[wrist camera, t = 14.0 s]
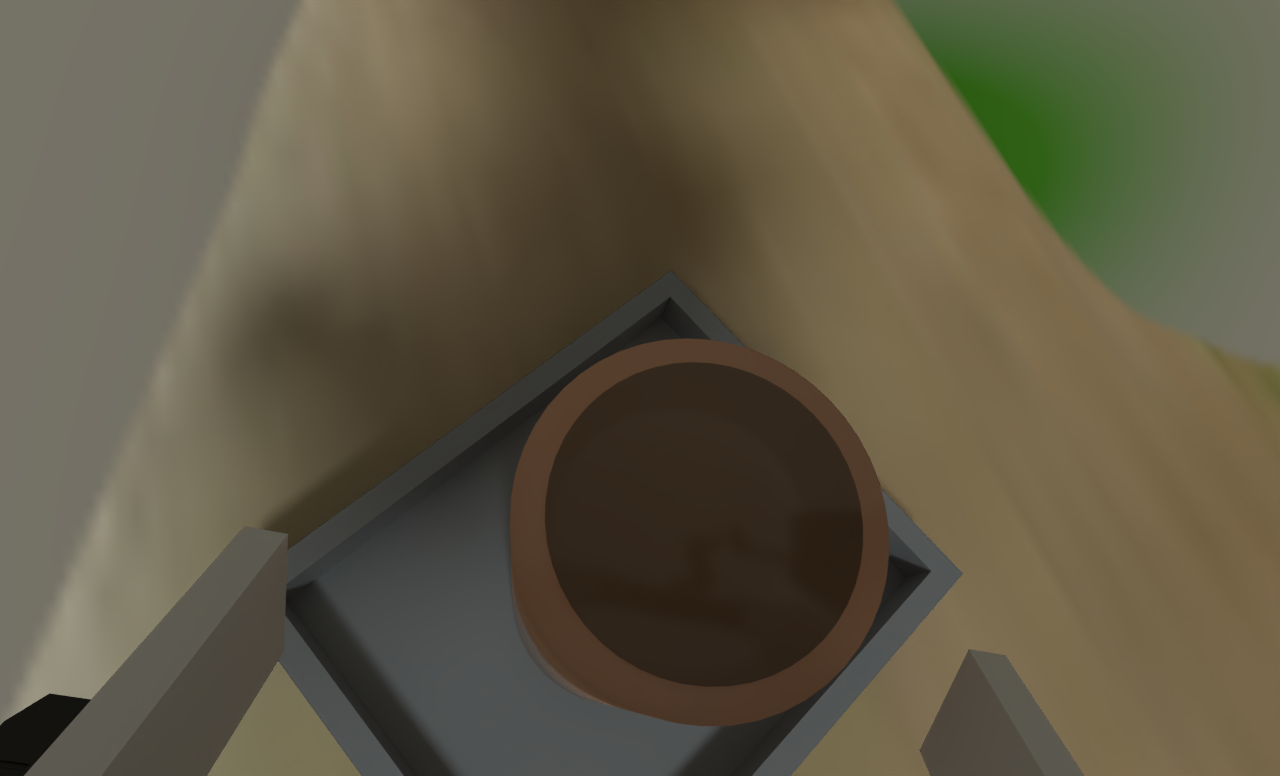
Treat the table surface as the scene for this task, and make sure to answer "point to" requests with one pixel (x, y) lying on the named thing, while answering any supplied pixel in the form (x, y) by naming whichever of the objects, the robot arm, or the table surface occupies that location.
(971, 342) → the table surface
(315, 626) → the grey square tray
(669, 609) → the terracotta cup
